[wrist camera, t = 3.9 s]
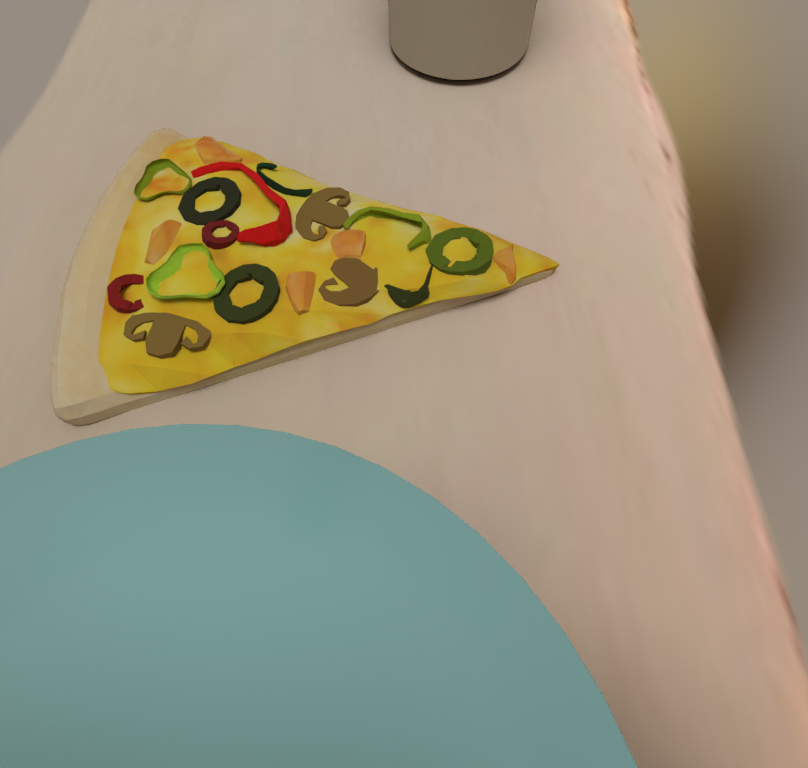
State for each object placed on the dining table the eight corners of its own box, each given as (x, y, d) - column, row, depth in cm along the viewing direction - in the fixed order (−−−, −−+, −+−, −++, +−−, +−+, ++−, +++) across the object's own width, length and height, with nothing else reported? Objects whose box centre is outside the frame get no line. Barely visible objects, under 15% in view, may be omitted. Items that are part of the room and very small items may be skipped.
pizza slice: (142, 154, 26) (112, 100, 24) (538, 162, 26) (554, 107, 23) (36, 431, 20) (-24, 400, 17) (570, 450, 19) (597, 420, 16)
